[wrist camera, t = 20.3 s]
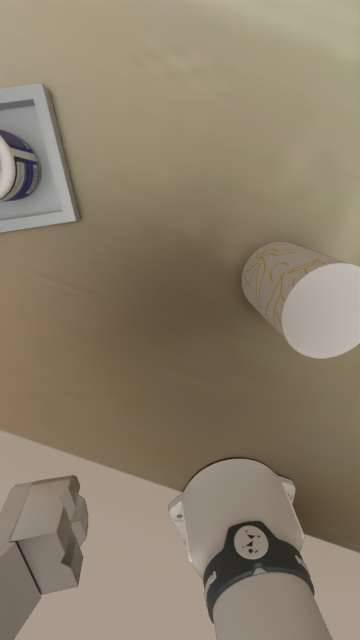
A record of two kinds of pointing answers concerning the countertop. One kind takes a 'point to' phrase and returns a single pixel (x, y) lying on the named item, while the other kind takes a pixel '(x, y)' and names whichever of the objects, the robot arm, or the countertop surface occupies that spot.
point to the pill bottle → (17, 168)
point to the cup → (305, 297)
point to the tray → (44, 138)
